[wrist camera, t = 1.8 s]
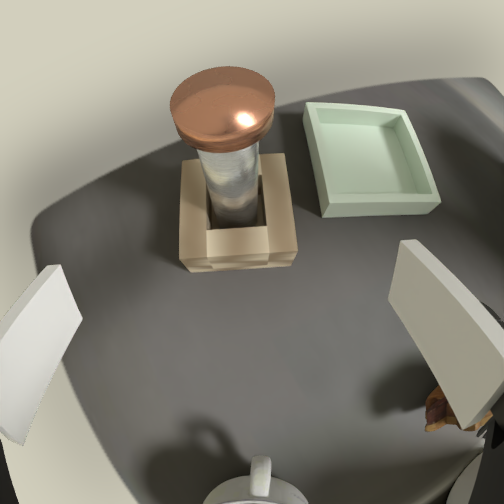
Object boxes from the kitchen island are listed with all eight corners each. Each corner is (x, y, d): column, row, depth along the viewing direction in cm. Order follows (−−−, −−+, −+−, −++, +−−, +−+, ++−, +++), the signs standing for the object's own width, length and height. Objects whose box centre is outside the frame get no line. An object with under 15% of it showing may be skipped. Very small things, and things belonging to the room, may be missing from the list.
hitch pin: (262, 192, 31) (268, 64, 15) (267, 243, 29) (281, 130, 13) (209, 196, 30) (175, 72, 15) (210, 247, 29) (164, 140, 13)
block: (280, 179, 32) (284, 153, 27) (290, 265, 29) (297, 250, 24) (191, 185, 32) (182, 160, 27) (191, 272, 29) (179, 258, 24)
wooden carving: (494, 337, 26) (548, 328, 17) (499, 367, 25) (553, 365, 15) (398, 399, 25) (453, 416, 15) (406, 433, 24) (458, 459, 14)
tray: (395, 126, 35) (404, 110, 32) (427, 214, 31) (441, 202, 28) (302, 120, 35) (305, 102, 32) (322, 217, 31) (329, 203, 27)
